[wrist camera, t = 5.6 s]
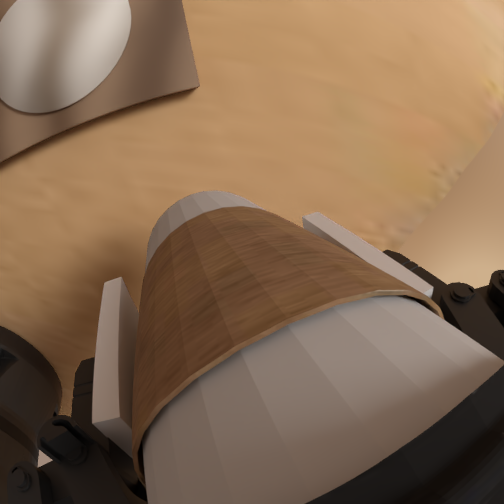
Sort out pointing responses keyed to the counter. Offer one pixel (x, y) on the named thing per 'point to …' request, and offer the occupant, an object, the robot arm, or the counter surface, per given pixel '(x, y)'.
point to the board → (85, 63)
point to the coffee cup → (301, 373)
